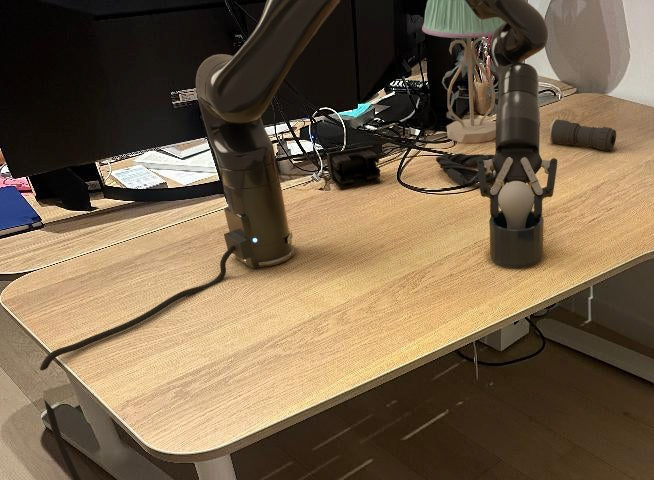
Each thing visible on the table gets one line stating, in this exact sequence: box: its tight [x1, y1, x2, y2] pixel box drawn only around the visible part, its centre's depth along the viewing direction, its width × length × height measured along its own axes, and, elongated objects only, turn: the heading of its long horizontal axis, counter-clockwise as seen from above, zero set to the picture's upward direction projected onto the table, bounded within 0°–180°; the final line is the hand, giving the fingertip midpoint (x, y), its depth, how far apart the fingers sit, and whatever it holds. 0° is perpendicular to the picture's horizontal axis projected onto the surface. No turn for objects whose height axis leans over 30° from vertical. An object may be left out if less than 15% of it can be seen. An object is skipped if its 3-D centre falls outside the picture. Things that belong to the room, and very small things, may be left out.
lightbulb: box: [498, 181, 534, 229], centre depth 127 cm, size 6×6×11 cm
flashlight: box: [548, 118, 617, 152], centre depth 177 cm, size 15×5×5 cm, turn 62°
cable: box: [435, 153, 498, 187], centre depth 164 cm, size 17×14×4 cm
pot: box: [488, 210, 545, 269], centre depth 130 cm, size 9×9×7 cm
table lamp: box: [421, 0, 505, 144], centre depth 176 cm, size 22×22×40 cm
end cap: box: [326, 145, 382, 191], centre depth 161 cm, size 10×7×7 cm
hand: (516, 218), depth 126 cm, fingers closed on lightbulb, 6 cm apart
